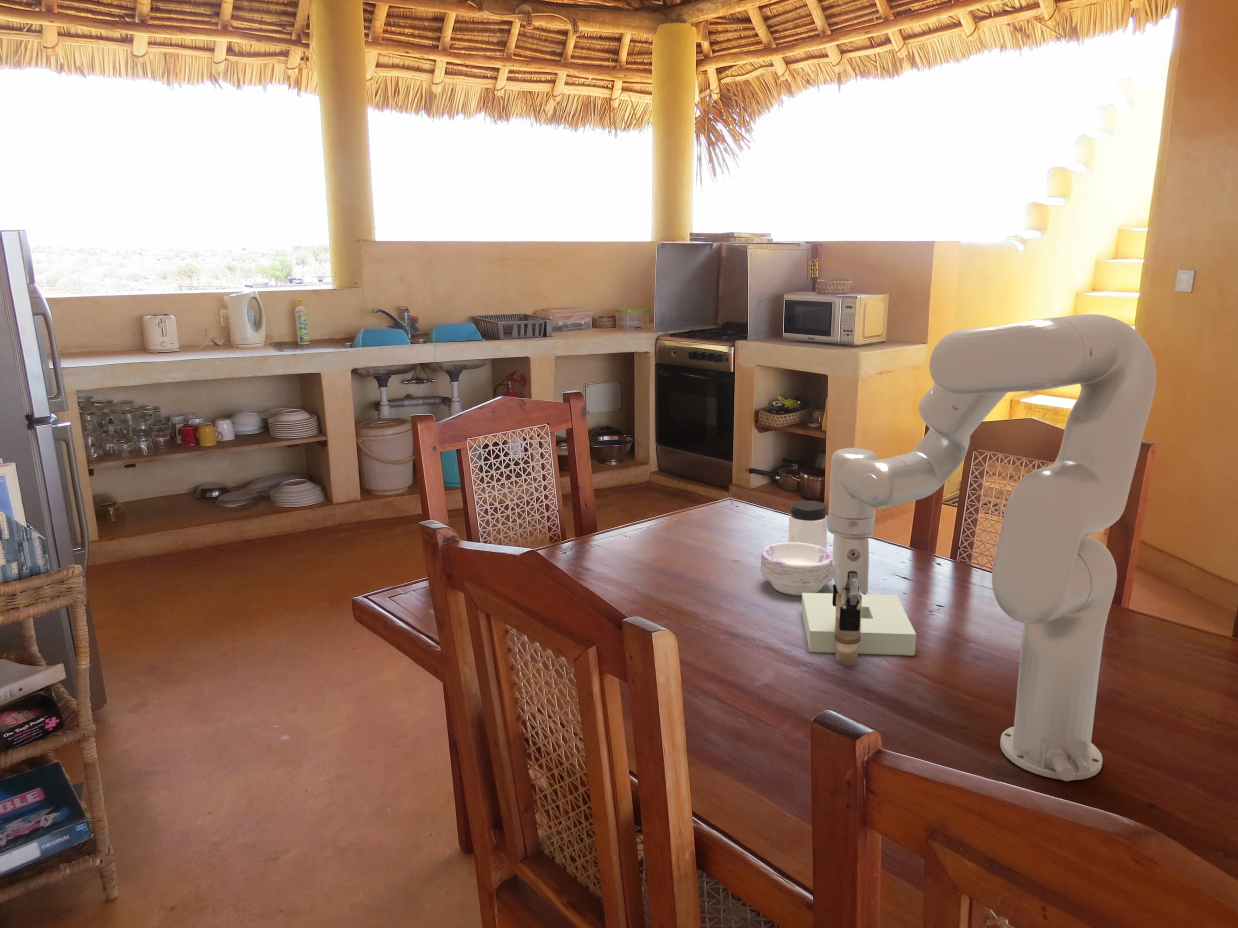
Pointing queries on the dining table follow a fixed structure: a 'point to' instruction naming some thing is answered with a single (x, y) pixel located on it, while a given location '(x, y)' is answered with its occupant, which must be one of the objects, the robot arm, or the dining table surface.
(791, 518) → the jar
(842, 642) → the peg
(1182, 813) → the dining table surface
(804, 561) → the paper bowls
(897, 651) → the board
